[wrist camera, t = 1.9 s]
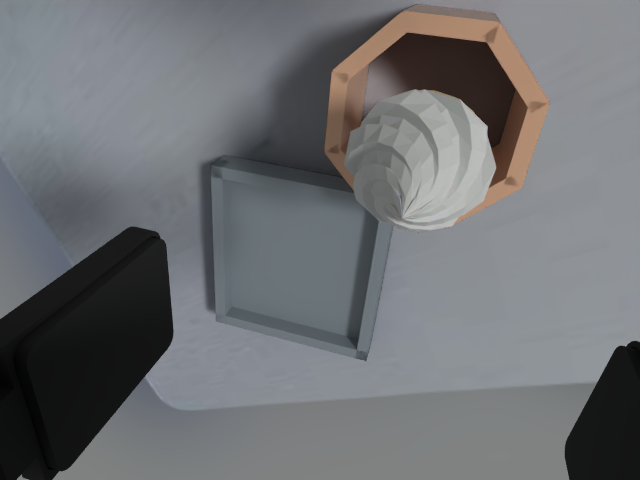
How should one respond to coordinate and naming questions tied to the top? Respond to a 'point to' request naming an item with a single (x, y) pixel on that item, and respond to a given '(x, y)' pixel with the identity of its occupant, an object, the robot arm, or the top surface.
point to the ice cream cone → (420, 160)
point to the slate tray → (296, 255)
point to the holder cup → (453, 24)
